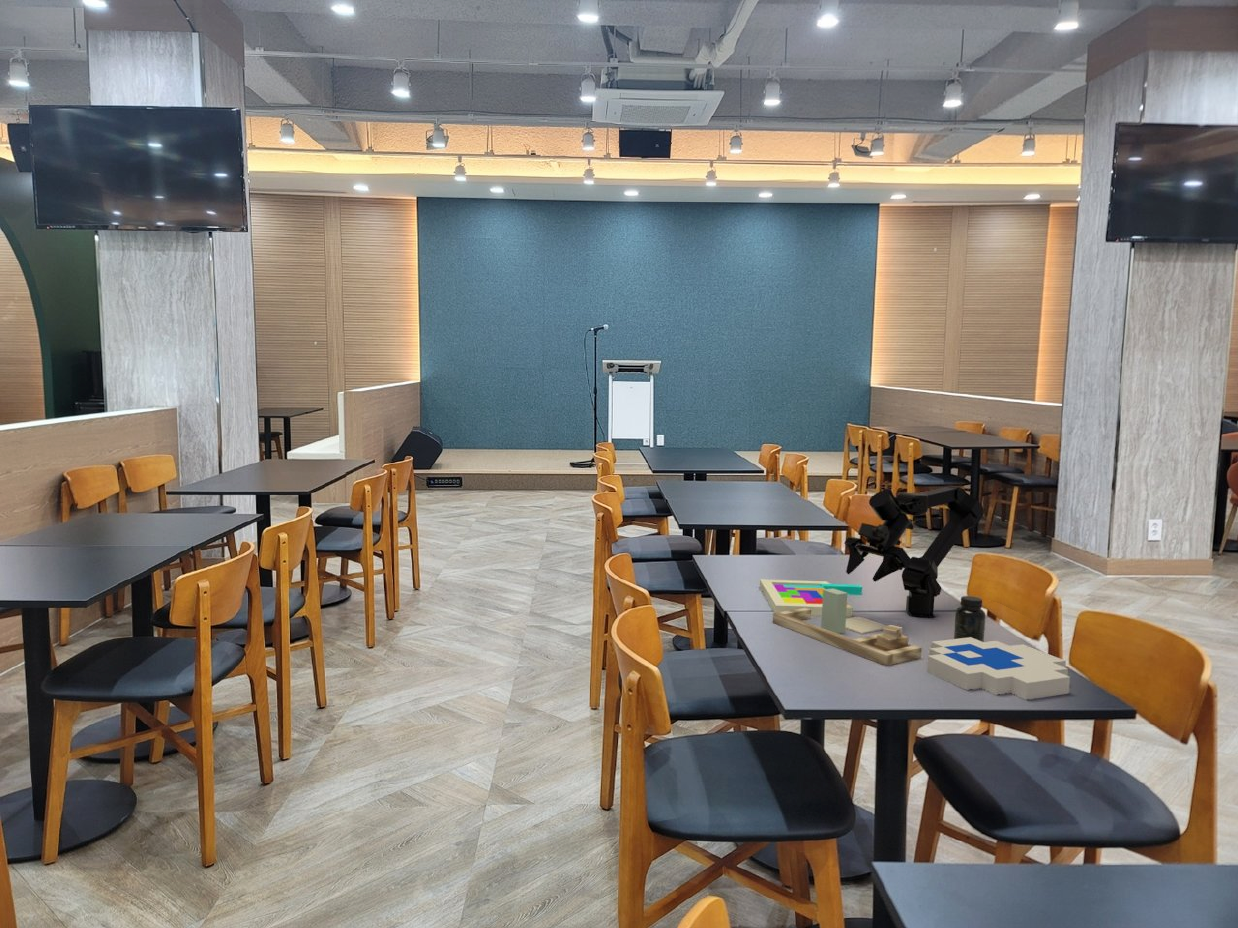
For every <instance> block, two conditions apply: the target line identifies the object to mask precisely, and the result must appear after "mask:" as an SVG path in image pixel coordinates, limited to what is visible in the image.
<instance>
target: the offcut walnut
mask: <svg viewBox="0 0 1238 928" xmlns="http://www.w3.org/2000/svg"><path fill="white" fill-rule="evenodd" d="M909 646H911V644H910V643H908V646H901V647H894V648H887V647H884V646H882V645H880V644H877V643H874V647H875V648H878V649H880V650H883V651H891V650H895V649H900V648H904V647H909Z"/></svg>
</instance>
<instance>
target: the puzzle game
mask: <svg viewBox="0 0 1238 928" xmlns="http://www.w3.org/2000/svg"><path fill="white" fill-rule="evenodd" d="M759 588H760V590H761V592H762V591H763V592H762V594H763V593H764V594H763V596H764V597H765V598H767V599H766V601H767V600H768V601H767V602H768V604H769V606H770V607H771V609H772V611H773V613H777V612H783V611H789V610H795V609H801V608H808V609H811V617H813V616H815V617H816V616H817V617H818V616H819V617H822V604H823V590H826V589H832V588H833V589H836V590H840V591H843V592H846V593H847V594H849V595H848V596H862V594H863V586H862V585H861V584H848V583H846V584H845V583H842V584H841V583H830V582H829V581H825V580H824V581H823V580H820V581H819V580H818V581H817V580H795V579H794V580H792V579H790V580H789V579H761V578H759ZM852 617H853V607H852V605H850V603H849V602H847V609H846V618H852Z"/></svg>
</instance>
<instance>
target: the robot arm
mask: <svg viewBox="0 0 1238 928" xmlns="http://www.w3.org/2000/svg"><path fill="white" fill-rule="evenodd" d="M868 503H869V506H870V508H872V510H873V512H874V514H876V516H877V517H878V518H879V519H880V520H881V521H884V522H883V523H880V524H878V525H873V524H868V523H865V522H861V524H860V527H859V529H858V530H859V531H858V533H857V535H859V536H862V537H864V538H865V541H866V543H868V545H867V544H866V543H865V542H864V541H863V539H862V538H859V537H855V536H848V537H847V539H846V540H845V542H844V545H845V546H846V549H847V550H848V551H849V557H848V562H847V566H846V570H845V573H846V574H847V575H851V573H852V572H854V571H855V570H856V569H857V568H858V567H859V566H860V565H861V564H862V563H863V562H864V561H865V558H866V557H867V556H868V555H869V554H870V555H875V556H879V557H882V562H881V563H880V565H879V567H878V569H877V570H876V571H875V573H874V574H873V577H872V580H873V582H877V581H879V580H881V579H883V578H885V577H886V576H889V575H891V574H893V573H895V572H898V571H902V573H901V580H902V585H903V588H904V591H908V595H907V596H906V600H905V601H906V603H905V604H906V605H905V611H907V613H908V615H910V616H911V617H918V618H919V617H923V618H935V617H936V615H935V614H934V609H935V598H936V597H938V596H940V595H941V592H942V590H943V589H942V586H941V585H940V583H939V582H938V580H937V579H938V575H939V571H938V570H939V569H938V568H939V567H940V564H942V562H943V560H944V559H945V558H946V556H947V555H948V553H949V552H950V551H951V549H952V548H953V547H954V545H955V544H956V542H957V541H958V540H959V538H960V537H961V535H963V533H964V532H965V531H967V530H968V529H971V528H973V527H975V526H976V525H977V524H978V523H979V522H980V521H981V520H982V518H983V516H984V514H985V509H984V507H983V505H982V504H981V502H979V501H978V499H976V498H975V497H974V496H972V495H970V494H969V493H967V491H966V490H965V489H964V488H963V487H961V486H956V485H955V486H954V485H945V486H944V487H941V488H940V487H939V488H937V489H932V490H928V491H924V492H920V493H917V492H899V493H898V494H896V496H895V495H894V493H893V492H892V490H891V489H890V488H883V489H882V490H881V491H878V492H876V493H875V494H873V495H871V497H870V498H869V500H868ZM941 505H946V507H947V508H948V513H947V514H948V520H947V522H946V524H945V525H944V526H943V527H942V529H941V530H940V531H939V533H938V534H937V535H936V537H935V538H934V539H933V541H932V543H931V544H930V545H929V546H928V548H927V549H926V551H925V552H923V553H924V554H923V555H921V556H920V557H916V556H912V557H910V556H909V554H908V553H907V551H906V550H905V549H904V547H900V545H901V544H902V542H901V541H900V539H901V537H902V535H904V533H905V531H906V530H911V531H912V530H914V524H913V519H912V518H911V519H910V518H909V517H908V516H913V517H919V516H922V515H924V514H925V513H927V512H928V511H929V509H930V508H933V507H938V506H941ZM907 515H908V516H907Z"/></svg>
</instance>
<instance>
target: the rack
mask: <svg viewBox="0 0 1238 928" xmlns="http://www.w3.org/2000/svg"><path fill="white" fill-rule="evenodd" d="M808 619H812V616H811V609H808V608H801V609H795V610H789V611H783V612H777V613H774V612H773V613H772V623H773V624H776V625H778V626H781V627H784V628H786V629H788V630H791V631H794V632H797V633H799V634H802V635H805V636H807V637H810V638H812V639H816V640H818V641H820V642H822V643H826V644H828V645H830V646H833V647H834V648H835V647H836V648H838V649H841V650H843V649H844V650H843V651H846V652H848V651H849V653H851V652H852V653H851V654H853V655H856V654H857V655H856V656H859V655H860V656H859V657H861V656H862V658H864V657H865V658H864V659H867V658H868V659H867V660H869V659H870V661H872V662H875V663H877V662H878V663H877V664H880V665H882V664H883V666H885V667H889V666H892V664H893V665H896V663H897V664H900V663H901V664H902V663H905V661H906V662H909V660H910V661H913V660H917V659H921V658H922V647H921V646H918V645H916V644H913V645H910V646H909V647H904V648H900V649H895V650H891V651H883V650H880V649H878V648H875V647H874V643H877V635H882V634H883V633H879V634H878V633H877V634H873V635H869V636H864V637H860V638H859V637H858V638H853V639H852V638H850V637H847V636H845V635H842V634H837V633H834V632H831V631H829V630H826V629H823V628H821V627H820V626H817V625H815V624H812V623H810V622H807V621H804V620H808Z"/></svg>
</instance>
